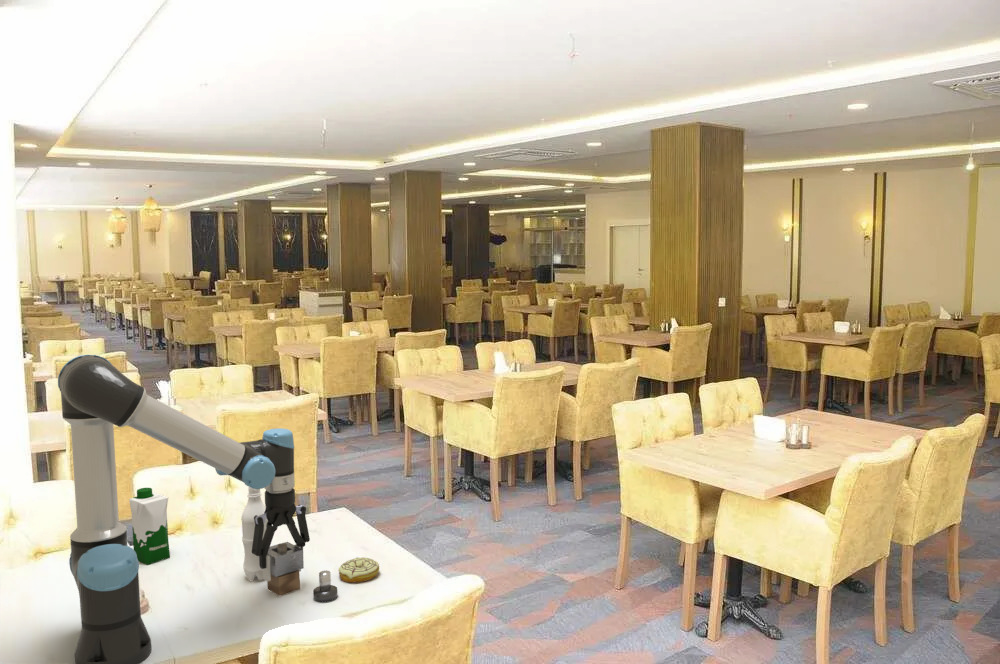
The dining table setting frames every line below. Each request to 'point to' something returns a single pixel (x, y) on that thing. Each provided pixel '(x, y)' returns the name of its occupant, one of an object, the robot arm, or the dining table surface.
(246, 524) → the water bottle
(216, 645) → the dining table surface
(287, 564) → the square steel tube
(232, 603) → the dining table surface
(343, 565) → the decorated donut
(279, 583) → the stand
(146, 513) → the milk carton
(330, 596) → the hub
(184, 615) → the dining table surface
